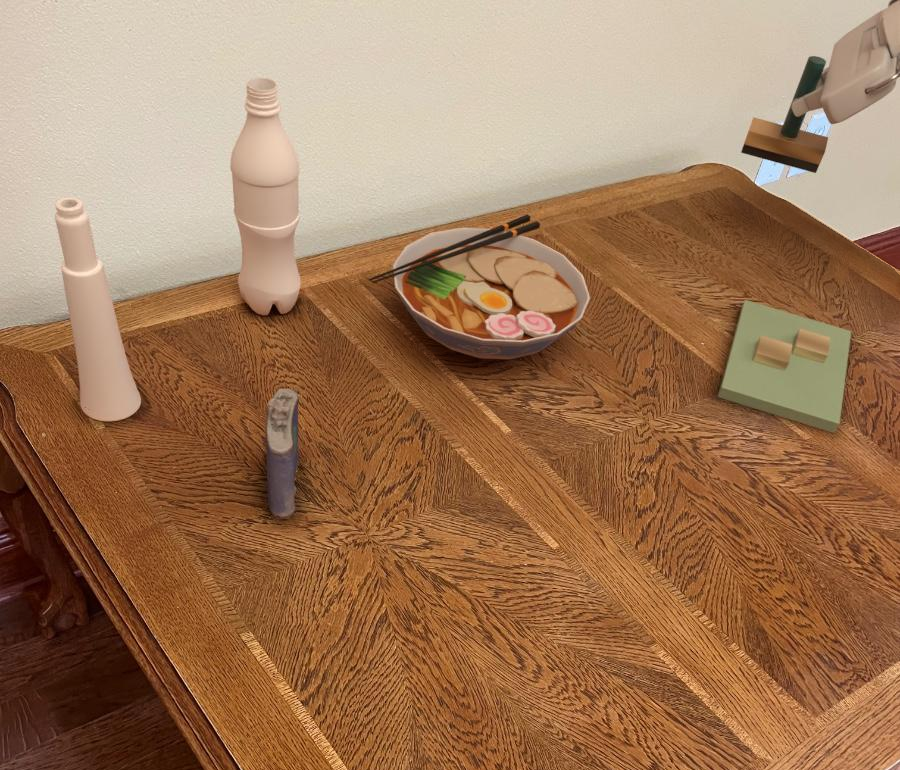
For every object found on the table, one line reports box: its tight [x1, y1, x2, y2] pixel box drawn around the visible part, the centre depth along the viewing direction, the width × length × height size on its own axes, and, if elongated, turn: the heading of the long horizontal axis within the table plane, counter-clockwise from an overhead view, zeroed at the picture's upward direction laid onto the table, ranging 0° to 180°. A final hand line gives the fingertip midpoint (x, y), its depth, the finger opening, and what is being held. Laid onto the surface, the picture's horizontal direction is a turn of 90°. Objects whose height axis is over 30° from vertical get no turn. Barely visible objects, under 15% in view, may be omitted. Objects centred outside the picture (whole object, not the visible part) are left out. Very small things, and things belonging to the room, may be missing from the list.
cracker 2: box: [792, 329, 830, 363], centre depth 116 cm, size 4×4×1 cm
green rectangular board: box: [717, 299, 852, 434], centre depth 115 cm, size 20×14×2 cm
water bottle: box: [229, 76, 302, 316], centre depth 102 cm, size 7×7×25 cm
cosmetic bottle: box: [54, 196, 142, 422], centre depth 89 cm, size 6×6×22 cm
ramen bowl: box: [369, 214, 591, 360], centre depth 110 cm, size 25×23×8 cm
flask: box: [264, 387, 300, 520], centre depth 89 cm, size 9×3×11 cm, turn 2°
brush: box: [740, 55, 829, 174], centre depth 119 cm, size 10×4×12 cm, turn 70°
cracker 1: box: [753, 336, 792, 370], centre depth 114 cm, size 4×4×1 cm
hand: (795, 104), depth 119 cm, fingers closed on brush, 2 cm apart
